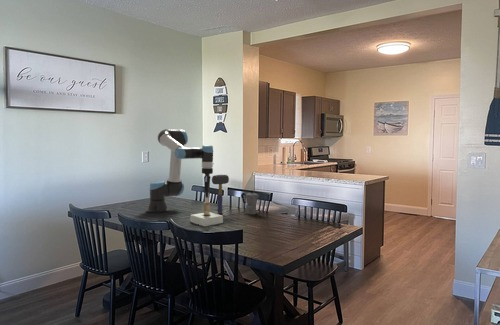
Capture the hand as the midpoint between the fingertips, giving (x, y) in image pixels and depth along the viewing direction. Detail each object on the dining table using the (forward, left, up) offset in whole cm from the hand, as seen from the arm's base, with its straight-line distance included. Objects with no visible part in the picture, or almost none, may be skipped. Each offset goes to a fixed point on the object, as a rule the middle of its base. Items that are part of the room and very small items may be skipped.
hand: (206, 201), depth 255 cm
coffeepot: (-4, +45, -15) cm, 48 cm away
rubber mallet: (-19, +27, -15) cm, 36 cm away
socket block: (0, 0, -14) cm, 14 cm away
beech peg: (0, 0, -14) cm, 14 cm away
